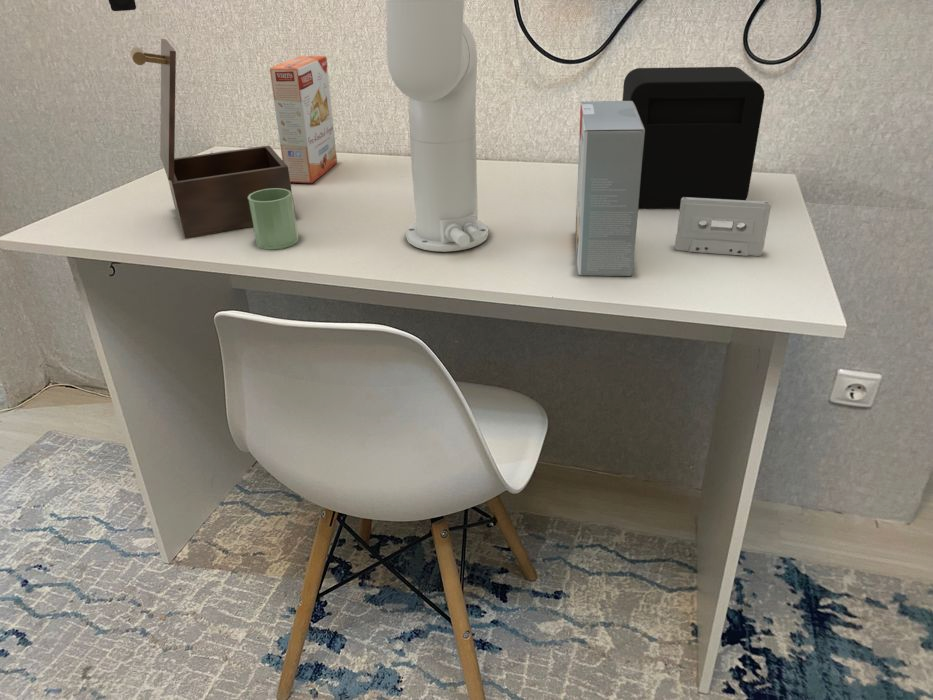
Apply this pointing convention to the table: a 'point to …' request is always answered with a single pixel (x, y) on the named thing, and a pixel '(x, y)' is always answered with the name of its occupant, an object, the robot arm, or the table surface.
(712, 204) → the cassette
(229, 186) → the chest
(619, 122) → the hard drive box
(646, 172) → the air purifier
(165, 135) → the chest lid
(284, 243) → the cup
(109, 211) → the table surface
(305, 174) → the cracker box
